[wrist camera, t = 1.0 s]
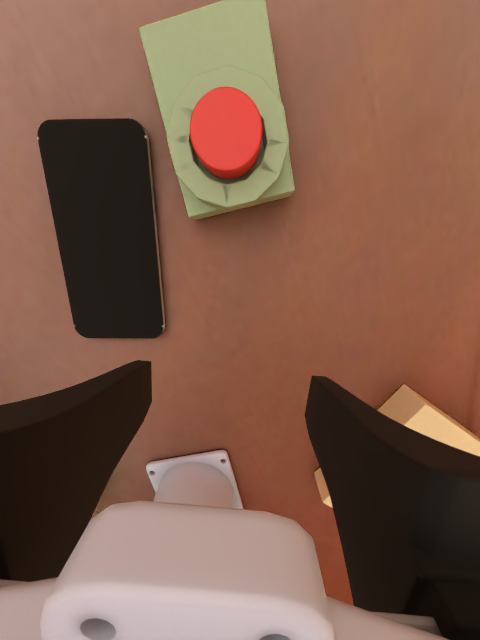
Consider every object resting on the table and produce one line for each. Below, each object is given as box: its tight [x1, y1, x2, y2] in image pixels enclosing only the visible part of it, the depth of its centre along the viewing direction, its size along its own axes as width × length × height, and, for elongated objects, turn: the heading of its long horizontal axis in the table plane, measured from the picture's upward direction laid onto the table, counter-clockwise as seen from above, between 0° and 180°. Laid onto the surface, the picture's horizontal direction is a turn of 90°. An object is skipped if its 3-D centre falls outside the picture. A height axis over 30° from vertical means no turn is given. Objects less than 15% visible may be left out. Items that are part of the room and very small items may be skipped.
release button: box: [190, 87, 262, 179], centre depth 14 cm, size 4×4×2 cm
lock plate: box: [314, 384, 480, 508], centre depth 23 cm, size 12×9×3 cm
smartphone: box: [38, 119, 165, 338], centre depth 19 cm, size 7×1×15 cm
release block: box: [139, 0, 295, 220], centre depth 16 cm, size 10×7×4 cm
